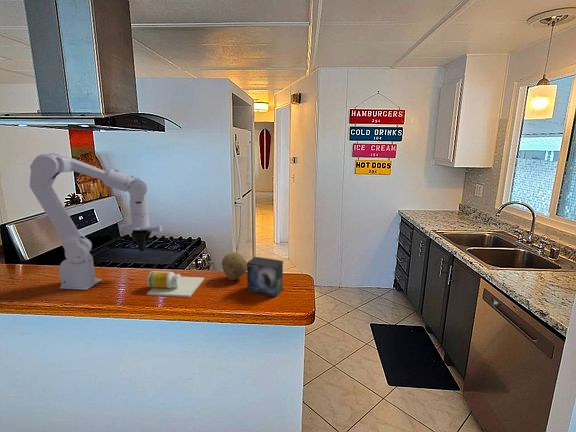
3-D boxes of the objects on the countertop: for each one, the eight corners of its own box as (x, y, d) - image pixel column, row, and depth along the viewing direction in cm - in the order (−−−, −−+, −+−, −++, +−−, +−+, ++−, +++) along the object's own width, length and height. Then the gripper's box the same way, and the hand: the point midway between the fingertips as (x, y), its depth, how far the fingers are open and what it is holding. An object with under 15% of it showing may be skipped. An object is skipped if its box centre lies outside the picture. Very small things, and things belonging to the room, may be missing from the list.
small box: (246, 292, 106) (245, 262, 103) (254, 284, 112) (254, 256, 109) (275, 298, 102) (276, 266, 100) (283, 289, 108) (283, 260, 106)
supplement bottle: (154, 269, 109) (182, 270, 109) (154, 284, 110) (182, 285, 109) (146, 273, 104) (175, 274, 103) (147, 289, 104) (175, 290, 104)
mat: (147, 294, 103) (146, 293, 102) (166, 277, 116) (166, 275, 116) (189, 297, 102) (189, 295, 101) (204, 279, 115) (204, 277, 115)
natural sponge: (245, 273, 121) (245, 248, 119) (249, 283, 112) (249, 256, 110) (221, 275, 118) (220, 250, 116) (223, 285, 110) (222, 258, 108)
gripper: (112, 215, 108) (116, 253, 111) (154, 216, 107) (157, 255, 110) (124, 210, 115) (128, 247, 118) (163, 212, 114) (166, 248, 117)
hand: (142, 250), depth 115 cm, fingers closed
